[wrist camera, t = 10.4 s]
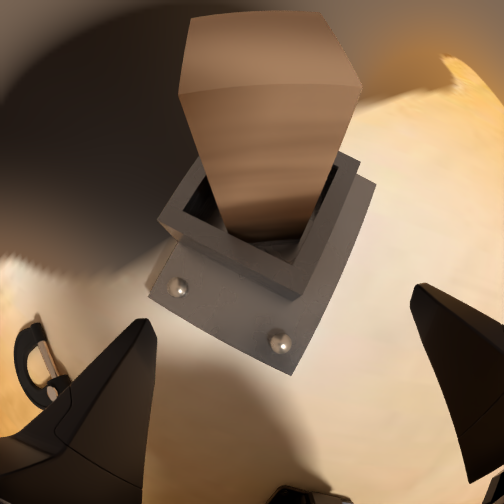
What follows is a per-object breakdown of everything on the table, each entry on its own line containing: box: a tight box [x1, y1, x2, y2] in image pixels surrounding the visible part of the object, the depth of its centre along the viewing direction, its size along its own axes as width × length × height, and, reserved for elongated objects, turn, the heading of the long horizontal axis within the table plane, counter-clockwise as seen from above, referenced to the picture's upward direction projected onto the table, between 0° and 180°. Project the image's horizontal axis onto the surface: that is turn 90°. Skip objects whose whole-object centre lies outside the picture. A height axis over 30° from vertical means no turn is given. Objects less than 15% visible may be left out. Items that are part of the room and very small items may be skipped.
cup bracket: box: [148, 151, 376, 376], centre depth 16 cm, size 14×10×5 cm
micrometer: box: [14, 323, 71, 410], centre depth 14 cm, size 15×7×2 cm, turn 33°
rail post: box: [178, 11, 363, 247], centre depth 12 cm, size 4×4×12 cm
